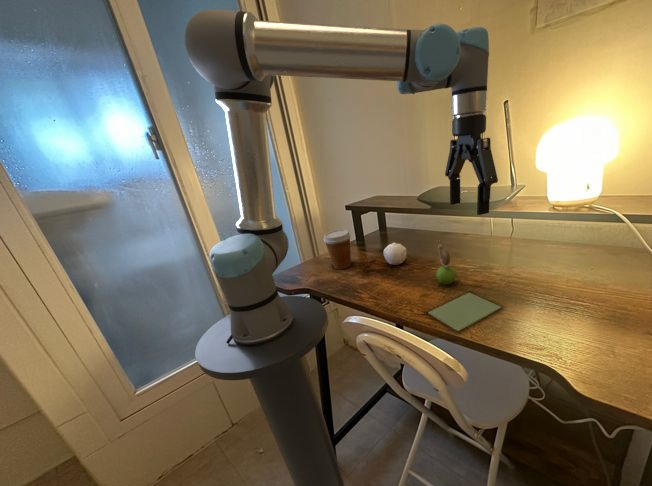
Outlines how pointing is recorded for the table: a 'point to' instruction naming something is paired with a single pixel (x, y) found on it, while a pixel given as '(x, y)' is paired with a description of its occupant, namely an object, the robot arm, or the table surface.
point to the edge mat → (464, 311)
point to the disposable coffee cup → (339, 248)
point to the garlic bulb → (395, 253)
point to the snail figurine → (445, 267)
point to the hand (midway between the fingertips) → (468, 208)
